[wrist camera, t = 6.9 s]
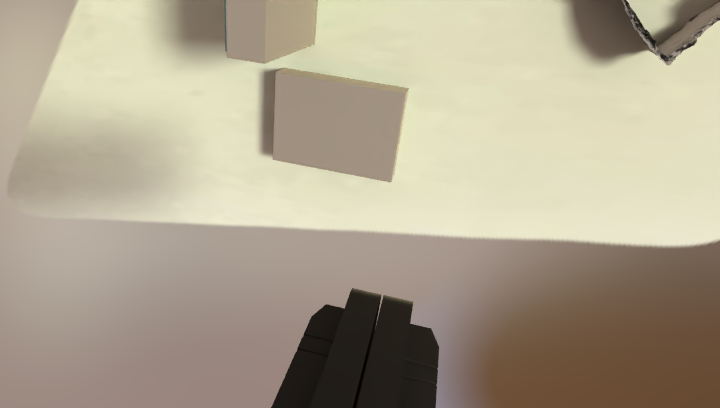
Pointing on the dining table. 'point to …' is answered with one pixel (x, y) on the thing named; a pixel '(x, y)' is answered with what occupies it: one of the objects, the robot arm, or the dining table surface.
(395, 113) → the beige rectangular block
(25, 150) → the dining table surface
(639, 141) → the dining table surface
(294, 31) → the beige flat slab
